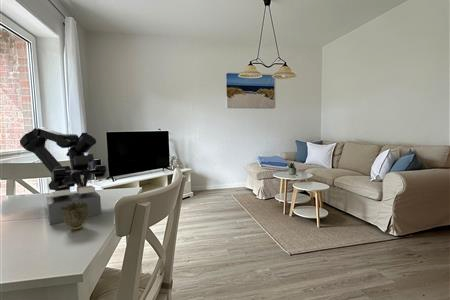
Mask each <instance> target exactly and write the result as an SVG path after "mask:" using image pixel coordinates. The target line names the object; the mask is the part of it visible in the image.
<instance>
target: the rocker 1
mask: <svg viewBox="0 0 450 300" xmlns="http://www.w3.org/2000/svg"><path fill="white" fill-rule="evenodd" d="M69 194H71V189H70V190H61V191H55V190H53V191H51V196H52V197H60V196H67V195H69Z"/></svg>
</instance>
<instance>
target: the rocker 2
mask: <svg viewBox="0 0 450 300" xmlns="http://www.w3.org/2000/svg"><path fill="white" fill-rule="evenodd" d="M95 191H96V187H95V186H93V185H86V186H83V187H78V186H77V187H76V193H77V192H78V193H79V194H82V193H89V192H95Z"/></svg>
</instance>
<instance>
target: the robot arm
mask: <svg viewBox="0 0 450 300" xmlns="http://www.w3.org/2000/svg"><path fill="white" fill-rule="evenodd" d="M47 141H51V142H54V143H55V144H56V146H58V147H60V148H61V149H68V150H67V152H66V157H69V162H70V163H69V164H70V165H65V166H62V164H61V163H60V162H59V160H57V158H56V157H55V156H54V155H53V154H52V153H51V152H50V151H49V149H48V148H47V147H46V142H47ZM19 144H20V146H21V147H22V148H23V149H24V150H25V151H28V152H29V153H33V154H34V155H35V156H36V157H37V158H38V159H39V161H40V162H41V163H42V164H43V166H45V167H46V168H47V170H48V171H49V172H50V174H51V175H50V181H49V183H48V184H47V186H48V188H49V190H51V191H61V190H70V191H71V188H72V187H75V186H77V187H83V186H88V185H87V184H88V181H90V180H91V179H92V175H93V176H94V177H95V178H104V177H105V176H106V174H107V166H106V165H105V164H100V165H98V164H97V165H95V166H94V168H91V169H90V163H93V162H94V161H95V159H94V155H93V153H88V152H89V151H90V150H92V148H93V147H94V146H95V145H97V139H96V138H94V136H92V135H91V134H88V132H82V133H81V134H80V135H78V134H75V133H62V132H58V131H57V130H56V131H55V130H53V129H49V128H48V127H34V128H33V129H32V130H30V131H28V132H27V133H24V134H23V136H22V137H21V138H20V140H19ZM86 153H88V154H87V155H85V154H86ZM81 176H82V177H81Z"/></svg>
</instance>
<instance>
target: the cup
mask: <svg viewBox="0 0 450 300" xmlns="http://www.w3.org/2000/svg"><path fill="white" fill-rule="evenodd" d="M61 210H62V215H63V219H64V222H63V223H64V224H65V225H66V226H67V227H69V230H70V231H71V232H77V231H81V230H82V229H83V228H84V225H83V224H85V223H86V221H87V220H88V217H87V216H88V203H87V204H86V202H85V203H83V202H82V203H81V205H80V202H79V203H78V204H76V203H72V204H71V205H70V204H67V207H65V208H64V206H62V207H61Z"/></svg>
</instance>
